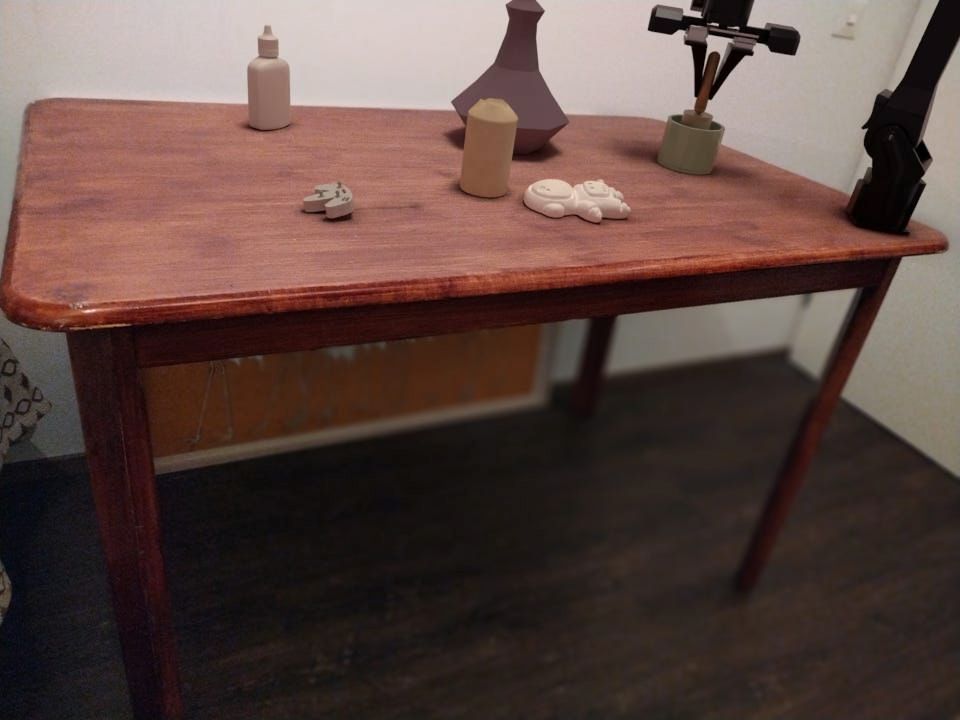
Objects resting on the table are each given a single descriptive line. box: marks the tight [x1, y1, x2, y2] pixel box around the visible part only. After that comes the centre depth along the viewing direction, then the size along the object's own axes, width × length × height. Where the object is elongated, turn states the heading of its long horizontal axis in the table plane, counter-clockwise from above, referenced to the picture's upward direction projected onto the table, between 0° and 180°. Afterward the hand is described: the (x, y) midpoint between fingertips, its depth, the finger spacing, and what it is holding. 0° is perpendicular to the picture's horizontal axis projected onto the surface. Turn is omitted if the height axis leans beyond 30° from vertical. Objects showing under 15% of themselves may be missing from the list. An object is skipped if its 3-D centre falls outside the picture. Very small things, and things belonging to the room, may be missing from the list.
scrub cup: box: [656, 113, 726, 176], centre depth 103 cm, size 8×8×6 cm
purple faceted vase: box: [450, 0, 570, 155], centre depth 97 cm, size 16×16×20 cm
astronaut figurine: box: [523, 178, 631, 224], centre depth 83 cm, size 9×12×3 cm
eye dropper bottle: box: [246, 24, 291, 131], centre depth 92 cm, size 4×6×12 cm
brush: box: [680, 50, 721, 130], centre depth 99 cm, size 4×4×12 cm
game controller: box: [302, 180, 418, 219], centre depth 75 cm, size 6×12×3 cm, turn 132°
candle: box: [459, 98, 518, 198], centre depth 82 cm, size 6×6×10 cm
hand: (702, 98), depth 99 cm, fingers closed on brush
